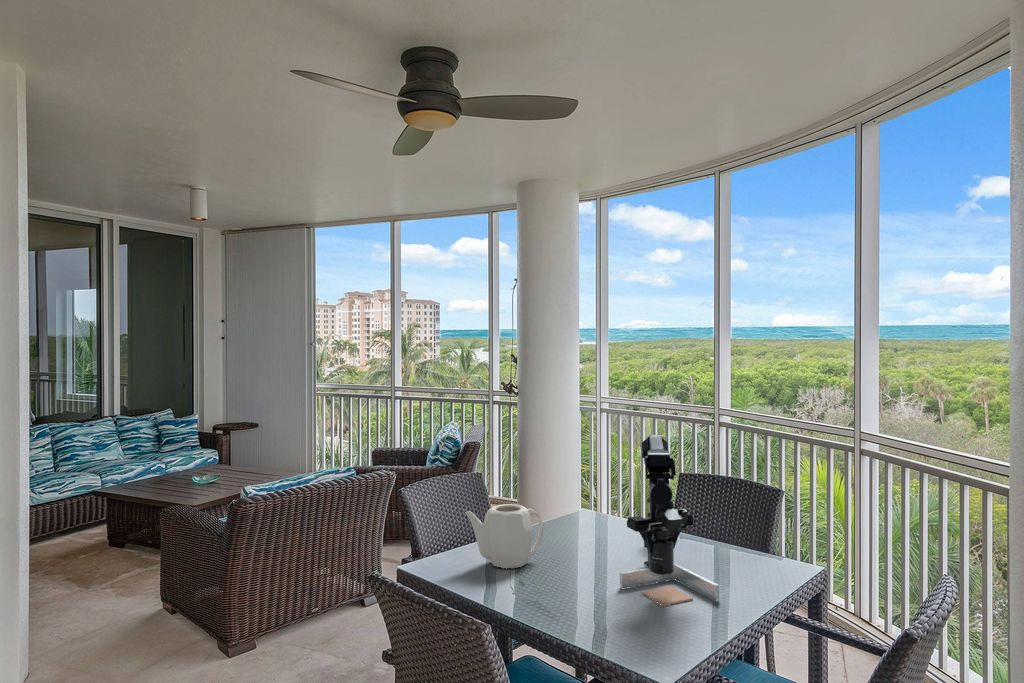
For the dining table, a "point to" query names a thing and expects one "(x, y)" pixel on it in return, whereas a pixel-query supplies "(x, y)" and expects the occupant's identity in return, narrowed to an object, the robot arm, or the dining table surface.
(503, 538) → the white teapot
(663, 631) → the dining table surface
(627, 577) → the corner walls
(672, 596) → the terracotta tile
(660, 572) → the supplement bottle
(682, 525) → the robot arm
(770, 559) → the dining table surface
